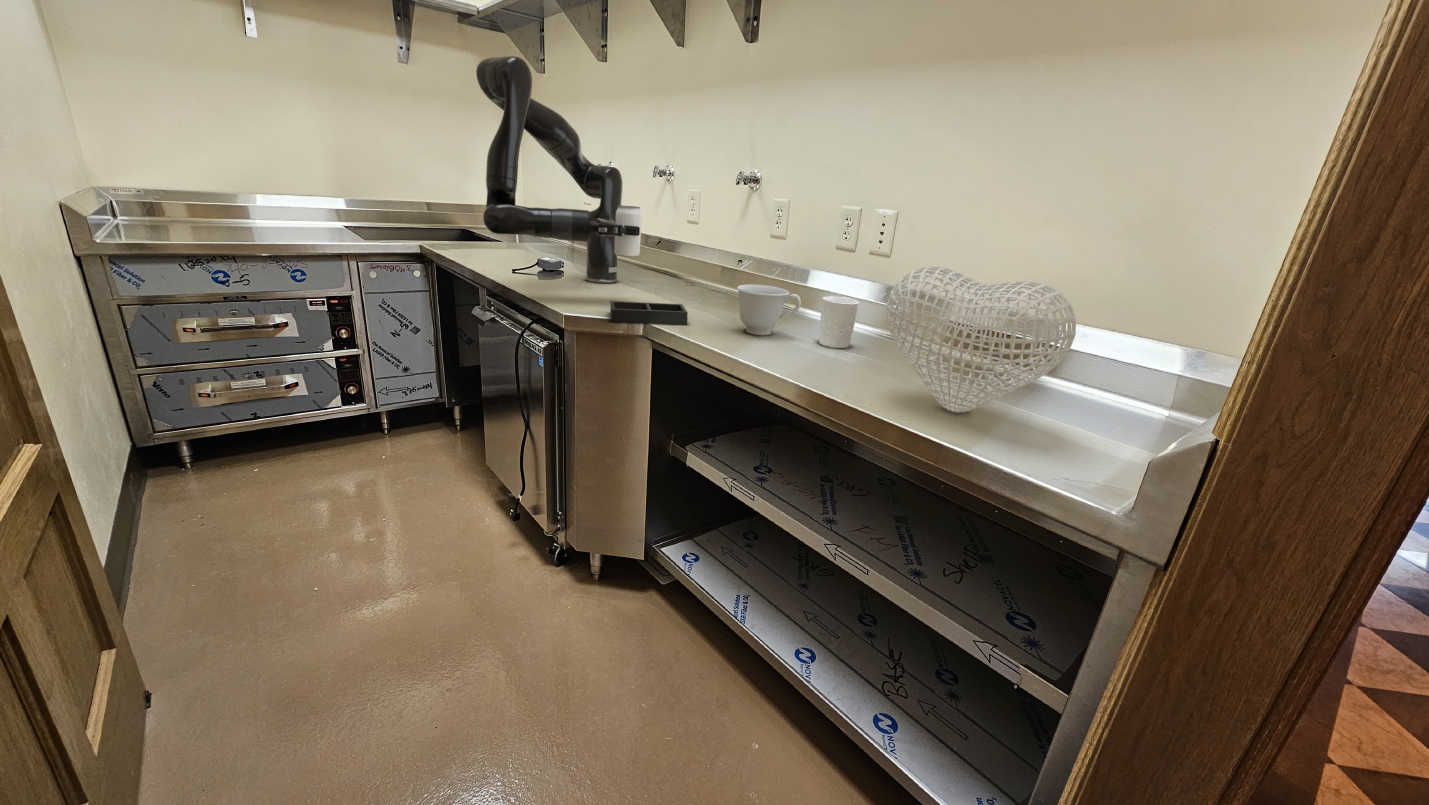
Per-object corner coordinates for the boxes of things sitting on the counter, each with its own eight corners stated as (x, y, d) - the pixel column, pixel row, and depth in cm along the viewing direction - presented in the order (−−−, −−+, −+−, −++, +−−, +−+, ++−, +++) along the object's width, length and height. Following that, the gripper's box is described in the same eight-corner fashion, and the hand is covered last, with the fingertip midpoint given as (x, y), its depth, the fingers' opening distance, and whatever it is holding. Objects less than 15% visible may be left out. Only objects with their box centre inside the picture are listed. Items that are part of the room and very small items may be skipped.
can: (611, 252, 158) (613, 204, 153) (635, 253, 160) (637, 206, 156) (618, 256, 152) (620, 206, 148) (642, 257, 155) (645, 208, 151)
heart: (1058, 427, 96) (1100, 287, 88) (1026, 452, 85) (1071, 295, 78) (897, 380, 114) (920, 259, 106) (853, 395, 103) (876, 262, 95)
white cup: (858, 346, 136) (865, 301, 133) (839, 351, 130) (846, 304, 127) (828, 338, 141) (835, 295, 137) (809, 342, 135) (815, 298, 132)
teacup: (790, 344, 133) (796, 298, 129) (725, 333, 137) (729, 289, 133) (801, 333, 144) (806, 290, 140) (740, 323, 148) (745, 282, 144)
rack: (610, 313, 146) (610, 300, 145) (681, 316, 150) (682, 304, 149) (611, 322, 138) (611, 309, 137) (686, 324, 142) (687, 312, 141)
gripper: (571, 211, 142) (642, 216, 147) (568, 207, 155) (633, 212, 160) (571, 243, 145) (641, 248, 149) (568, 237, 158) (632, 241, 162)
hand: (637, 229), depth 155 cm, fingers closed on can, 6 cm apart
